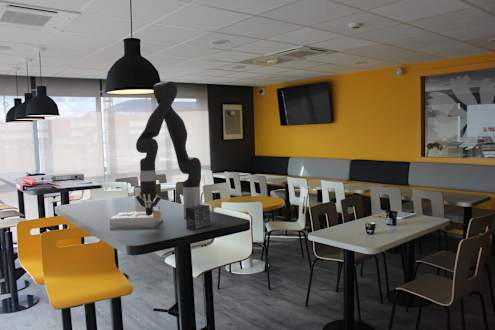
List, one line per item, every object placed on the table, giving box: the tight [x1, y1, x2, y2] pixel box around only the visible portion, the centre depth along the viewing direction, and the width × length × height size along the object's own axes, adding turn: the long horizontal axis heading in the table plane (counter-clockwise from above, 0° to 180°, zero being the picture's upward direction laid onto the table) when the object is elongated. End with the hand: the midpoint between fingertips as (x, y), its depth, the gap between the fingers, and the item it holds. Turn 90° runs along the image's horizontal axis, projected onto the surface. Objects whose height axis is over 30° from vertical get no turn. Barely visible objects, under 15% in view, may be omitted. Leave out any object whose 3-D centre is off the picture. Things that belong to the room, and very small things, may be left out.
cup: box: [133, 186, 146, 212], centre depth 229 cm, size 8×8×16 cm
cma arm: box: [152, 205, 161, 220], centre depth 195 cm, size 22×4×3 cm, turn 14°
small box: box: [185, 204, 211, 231], centre depth 192 cm, size 11×6×10 cm, turn 141°
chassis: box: [109, 210, 163, 230], centre depth 204 cm, size 22×18×6 cm
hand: (149, 215), depth 192 cm, fingers closed
